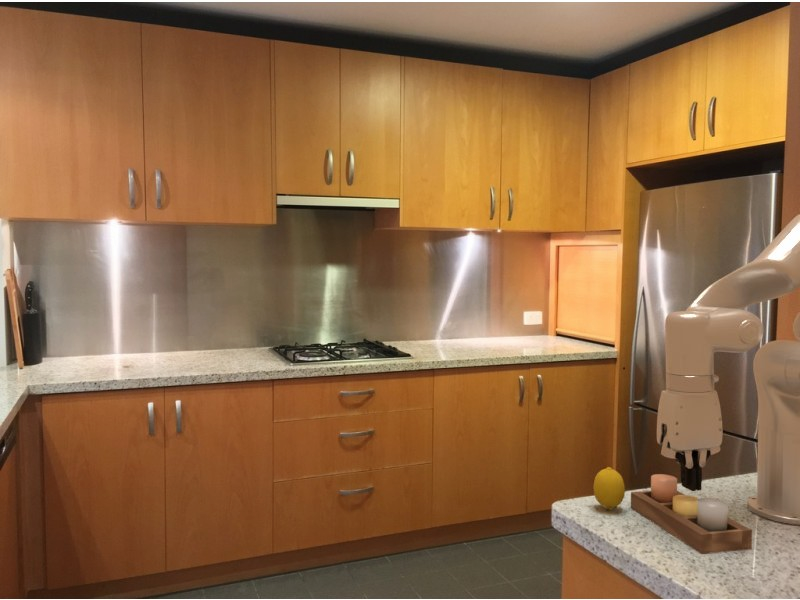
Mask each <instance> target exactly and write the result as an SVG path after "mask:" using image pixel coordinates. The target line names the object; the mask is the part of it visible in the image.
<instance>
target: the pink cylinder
mask: <svg viewBox="0 0 800 600" xmlns="http://www.w3.org/2000/svg"><path fill="white" fill-rule="evenodd" d="M650 491H651V498H652V499H653V500H655V501H657V502H659V503H669V502H673V496H675V495H677V491H678V478H677V477H675V476H673V475H669V474H666V473H665V474H664V473H663V474H662V473H658V474H657V473H655V474H652V475H650Z"/></svg>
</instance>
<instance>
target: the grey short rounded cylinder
mask: <svg viewBox="0 0 800 600" xmlns="http://www.w3.org/2000/svg"><path fill="white" fill-rule="evenodd" d="M728 507H729V506H728V503H727V502H725V501H723V500H722V499H717V498H711V497H702V498H698V503H697V525H698V526H700V527H701V528H703V529H705V530H706V531H708V532H715V531H726V530H727V517H728V511H729V510H728V509H729V508H728Z"/></svg>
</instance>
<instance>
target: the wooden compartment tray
mask: <svg viewBox="0 0 800 600" xmlns="http://www.w3.org/2000/svg"><path fill="white" fill-rule="evenodd" d="M677 495H686V494H685V493H682V492H681V491H679V490H677ZM630 509H632V510H633V511H635V512H636V513H638V514H639V513H640V515H641V516H642V515H643V518H646V519H647V518H648V520H649V521H650V520H651V521H650V522H651V523H653V522H654V523H653V524H655V525H657V526H658V527H659V528H661V529H663V530H664V531H665V532H667V533H669V534H670V535H672V536H673V537H675V538H676V539H678V540H680V541H681V542H683V543H685V544H686V545H687V546H689V547H691V548H692V549H694V550H696V551H697V552H698V551H699V552H698V553H699V554H702V555H703V554H711V553H710V552H713V553H721V551H723V552H731V551H742V550H750V549H752V548H753V547H752V546H753V545H752V542H753V538H752V537H753V529H751V528H749V527H746V526H745V525H743V524H741V523H739V522H737V521H735V520H733V519H732V518H730V517H728V516H727V530H726V531H715V532H708V531H706V530H705V529H703V528H701V527H700V526H698V525H697V516H686V517H682V516H681V515H679V514H677V513H676V512H674V511H673V502H669V503H659V502H657V501H655V500H653V499H652V498H651V490H643V491H639V490H638V491H631V492H630Z"/></svg>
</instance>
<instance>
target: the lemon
mask: <svg viewBox="0 0 800 600" xmlns="http://www.w3.org/2000/svg"><path fill="white" fill-rule="evenodd" d="M592 487H593V494H594V495H593V496H594V497H595V499H596V501H597V502H598V503H599V504H600V505H601V506H602V507H605V509H606V510H608V511H611V510H612V509H613V508H616V507H618V506H619V505H620V504H621V503H622V502H623V500H624V497H625V494H626V493H625V492H626V490H625V489H626V488H625V482H624V479H623V476H622V475H621V473H619V472H618V471H617V470H615V469H613V468H612V467H610V466H608V467H606V468H604V469H601V470H600V471H599V472H597V473H596V475H595V478H594V481H593V486H592Z"/></svg>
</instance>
